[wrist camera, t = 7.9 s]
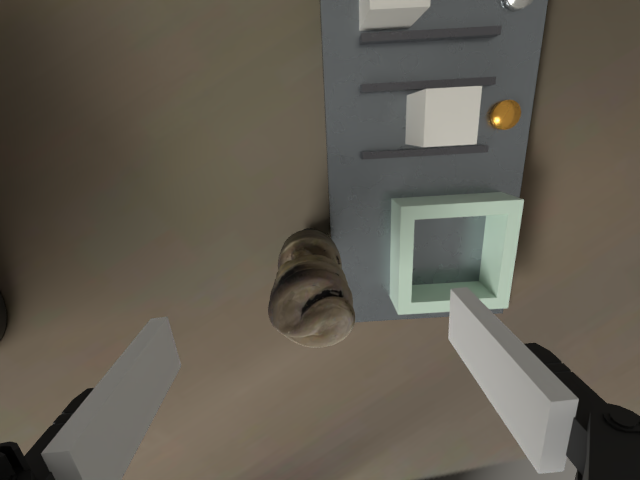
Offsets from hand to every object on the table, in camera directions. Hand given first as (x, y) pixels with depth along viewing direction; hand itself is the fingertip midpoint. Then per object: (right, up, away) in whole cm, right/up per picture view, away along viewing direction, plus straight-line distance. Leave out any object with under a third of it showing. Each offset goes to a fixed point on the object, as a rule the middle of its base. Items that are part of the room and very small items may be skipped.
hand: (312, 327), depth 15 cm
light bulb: (-1, +4, +18) cm, 19 cm away
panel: (+10, +11, +16) cm, 22 cm away
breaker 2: (+10, +15, +13) cm, 22 cm away
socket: (+13, +3, +17) cm, 22 cm away
